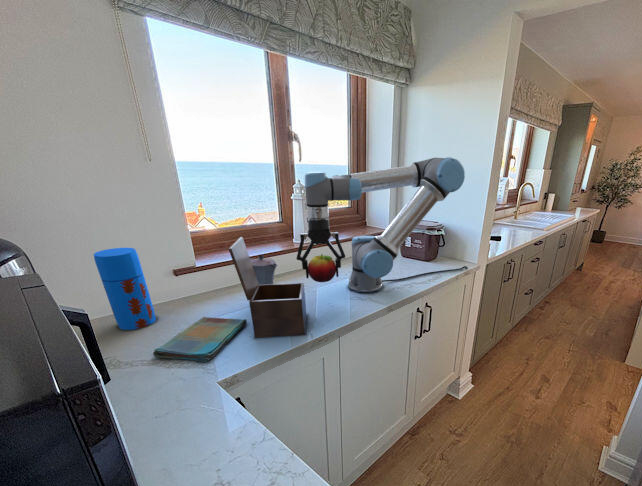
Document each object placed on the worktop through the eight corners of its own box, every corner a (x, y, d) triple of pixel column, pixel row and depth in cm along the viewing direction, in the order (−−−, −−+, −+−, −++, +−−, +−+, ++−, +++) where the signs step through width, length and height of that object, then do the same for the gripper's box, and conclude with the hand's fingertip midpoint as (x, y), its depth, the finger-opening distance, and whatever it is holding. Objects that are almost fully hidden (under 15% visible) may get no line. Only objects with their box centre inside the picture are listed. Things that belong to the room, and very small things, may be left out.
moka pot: (276, 310, 122) (269, 259, 114) (239, 306, 125) (230, 256, 117) (287, 300, 131) (282, 252, 123) (253, 296, 134) (246, 249, 125)
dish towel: (151, 358, 92) (149, 350, 91) (201, 320, 113) (200, 314, 112) (209, 362, 91) (207, 355, 90) (248, 323, 112) (247, 317, 111)
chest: (306, 315, 119) (303, 282, 114) (304, 334, 106) (301, 299, 101) (262, 317, 117) (257, 284, 112) (254, 338, 104) (249, 301, 98)
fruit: (322, 273, 132) (320, 249, 128) (342, 278, 126) (341, 254, 122) (302, 281, 124) (300, 255, 120) (323, 287, 118) (321, 260, 114)
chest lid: (242, 236, 104) (239, 237, 104) (231, 248, 91) (228, 248, 91) (258, 283, 111) (256, 283, 111) (250, 300, 98) (247, 300, 98)
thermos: (117, 321, 112) (92, 250, 102) (154, 312, 118) (134, 245, 108) (119, 333, 104) (93, 258, 94) (158, 324, 111) (137, 253, 100)
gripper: (283, 220, 110) (290, 281, 119) (351, 219, 114) (353, 278, 123) (286, 217, 117) (292, 274, 126) (349, 215, 121) (351, 271, 130)
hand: (322, 276), depth 125 cm, fingers closed on fruit, 11 cm apart
